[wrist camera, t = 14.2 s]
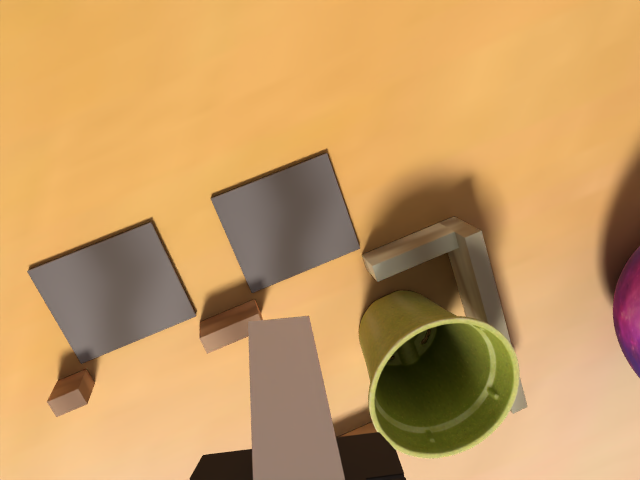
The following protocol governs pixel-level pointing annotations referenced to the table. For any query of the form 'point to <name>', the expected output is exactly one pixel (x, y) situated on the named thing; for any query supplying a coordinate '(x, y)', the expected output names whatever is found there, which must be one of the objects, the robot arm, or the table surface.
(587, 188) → the table surface
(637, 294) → the decorative orb
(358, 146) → the table surface
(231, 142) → the table surface
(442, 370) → the plant pot
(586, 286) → the table surface
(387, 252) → the grey and wooden pieces
